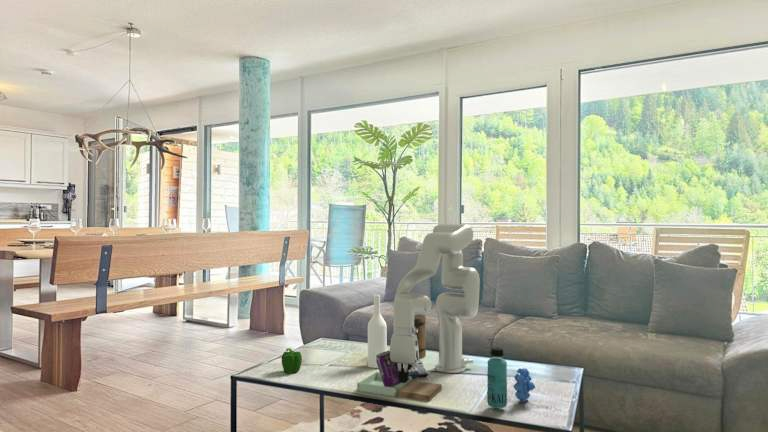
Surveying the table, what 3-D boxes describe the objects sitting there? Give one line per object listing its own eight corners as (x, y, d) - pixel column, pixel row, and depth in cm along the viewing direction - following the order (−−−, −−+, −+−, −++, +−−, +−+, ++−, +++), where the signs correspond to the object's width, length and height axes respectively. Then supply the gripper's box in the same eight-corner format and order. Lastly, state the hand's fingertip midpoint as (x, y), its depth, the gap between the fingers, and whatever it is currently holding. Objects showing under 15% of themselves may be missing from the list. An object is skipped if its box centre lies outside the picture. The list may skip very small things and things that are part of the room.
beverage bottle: (492, 404, 175) (492, 344, 175) (511, 408, 171) (510, 347, 171) (483, 409, 170) (483, 348, 170) (502, 414, 166) (501, 351, 166)
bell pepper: (296, 367, 219) (296, 343, 219) (304, 372, 212) (304, 348, 212) (277, 371, 214) (277, 346, 214) (285, 376, 207) (285, 351, 207)
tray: (411, 384, 196) (411, 376, 196) (395, 397, 182) (395, 388, 182) (375, 379, 202) (375, 371, 202) (357, 391, 189) (357, 382, 189)
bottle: (388, 363, 224) (388, 293, 224) (384, 369, 216) (383, 296, 216) (370, 362, 226) (370, 293, 226) (365, 367, 218) (365, 296, 218)
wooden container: (431, 354, 239) (431, 306, 239) (415, 361, 227) (415, 311, 227) (403, 349, 247) (403, 303, 247) (386, 356, 235) (386, 308, 235)
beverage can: (401, 384, 186) (390, 352, 188) (383, 390, 188) (372, 357, 189) (404, 379, 193) (394, 348, 195) (387, 385, 195) (376, 353, 196)
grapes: (529, 410, 169) (529, 373, 169) (509, 405, 173) (509, 369, 173) (541, 399, 179) (540, 364, 179) (521, 395, 183) (521, 361, 183)
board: (441, 389, 189) (441, 384, 189) (429, 401, 178) (429, 395, 178) (411, 385, 195) (411, 380, 195) (397, 396, 183) (397, 390, 183)
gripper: (426, 330, 189) (426, 381, 189) (389, 327, 195) (389, 376, 195) (419, 335, 182) (419, 387, 182) (380, 331, 188) (380, 382, 188)
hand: (403, 381), depth 188 cm, fingers closed
